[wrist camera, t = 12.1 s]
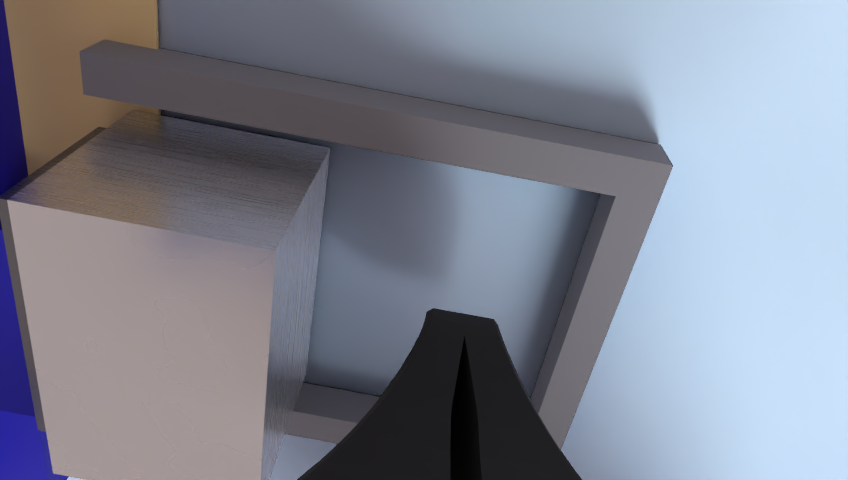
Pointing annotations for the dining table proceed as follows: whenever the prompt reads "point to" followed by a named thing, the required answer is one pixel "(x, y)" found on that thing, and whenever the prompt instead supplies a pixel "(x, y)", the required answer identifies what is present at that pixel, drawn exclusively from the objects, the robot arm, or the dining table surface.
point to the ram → (167, 296)
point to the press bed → (351, 125)
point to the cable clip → (3, 350)
